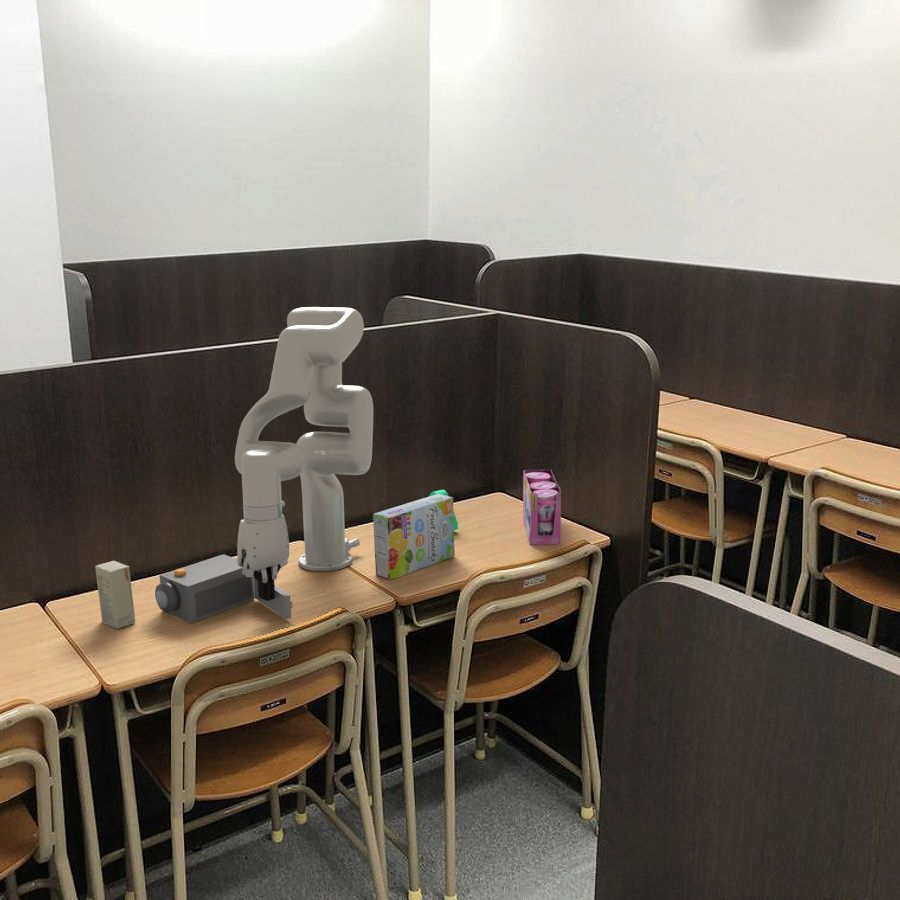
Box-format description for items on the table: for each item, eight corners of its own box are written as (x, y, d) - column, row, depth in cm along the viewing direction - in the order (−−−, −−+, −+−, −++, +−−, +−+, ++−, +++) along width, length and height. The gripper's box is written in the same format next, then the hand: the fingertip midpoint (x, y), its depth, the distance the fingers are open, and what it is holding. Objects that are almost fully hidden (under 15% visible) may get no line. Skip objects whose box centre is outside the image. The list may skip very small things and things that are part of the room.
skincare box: (136, 623, 191) (131, 566, 188) (116, 630, 188) (110, 572, 185) (119, 615, 195) (114, 559, 192) (100, 621, 192) (94, 564, 189)
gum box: (561, 547, 233) (562, 494, 230) (529, 547, 233) (530, 494, 230) (551, 517, 257) (552, 469, 253) (522, 517, 257) (522, 469, 253)
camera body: (225, 588, 209) (223, 550, 207) (254, 599, 202) (252, 561, 200) (151, 614, 195) (148, 574, 193) (179, 627, 189) (176, 586, 187)
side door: (253, 597, 202) (251, 575, 200) (262, 594, 203) (260, 573, 202) (285, 619, 190) (284, 596, 189) (295, 617, 191) (293, 594, 190)
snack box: (438, 551, 231) (438, 492, 227) (455, 557, 227) (455, 497, 223) (374, 575, 216) (372, 512, 212) (390, 581, 212) (388, 517, 209)
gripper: (280, 500, 196) (283, 584, 200) (220, 516, 185) (225, 604, 189) (303, 507, 191) (307, 592, 195) (243, 523, 180) (248, 613, 184)
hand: (266, 598), depth 192 cm, fingers closed
